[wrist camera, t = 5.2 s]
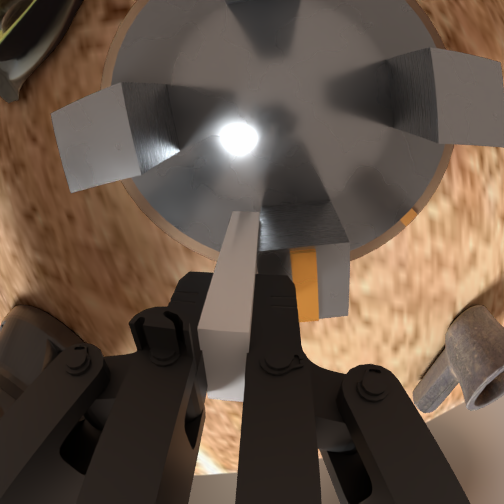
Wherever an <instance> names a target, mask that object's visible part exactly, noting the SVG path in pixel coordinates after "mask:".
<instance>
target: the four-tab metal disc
mask: <svg viewBox="0 0 504 504" xmlns="http://www.w3.org/2000/svg"><path fill="white" fill-rule="evenodd" d="M51 118H52V123H53V128H54V132H55V137H56V141H57V145H58V149H59V153H60V157H61V161H62V165H63V169H64V172H65V176H66V179H67V182H68V186H69V189H70V192H71V193H74V192H77V191H81V190H84V189H88V188H91V187H95V186H99V185H103V184H106V183H110V182H114V181H118V180H122V179H126V178H132V180H133V182H134V183H135V185H136V187H137V188H138V190H139V191H140V192H141V194H142V195H143V196H144V197H145V199H146V200H147V201H148V202H149V204H150V205H151V206H152V207H153V208H154V209H155V210H156V211H157V212H158V213H159V214H160V215H161V216H162V217H163V218H164V219H165V220H166V221H168V222H169V223H170V224H172V225H173V226H174V227H175V228H177V229H178V230H179V231H181V232H182V233H183V234H185V235H187V236H189V237H190V238H192V239H194V240H195V241H197V242H199V243H200V244H202V245H205V246H207V247H209V248H212V249H214V250H216V251H218V252H220V251H221V247H222V244H223V241H224V238H225V235H226V231H227V228H228V225H229V222H230V219H231V216H232V212H233V211H244V212H260V219H259V231H258V243H257V260H256V264H257V270H258V274H267V275H288V277H289V278H290V279H291V280H292V282H293V283H294V284H295V288H296V299H297V309H298V316H299V322H308V321H318V320H319V319H322V318H331V317H340V316H348V307H349V278H350V251H351V250H354V249H356V248H359V247H361V246H363V245H365V244H366V243H368V242H370V241H372V240H374V239H375V238H377V237H379V236H380V235H382V234H383V233H384V232H386V231H387V230H388V229H390V228H391V227H392V226H394V225H395V224H396V223H397V222H398V221H399V220H400V219H401V218H402V217H403V216H405V215H406V214H407V213H408V212H409V211H410V210H411V208H412V207H413V206H414V205H415V203H416V202H417V201H418V200H419V198H420V197H421V196H422V195H423V193H424V191H425V190H426V188H427V186H428V185H429V183H430V181H431V180H432V178H433V176H434V174H435V172H436V169H437V167H438V165H439V162H440V160H441V157H442V154H443V150H444V146H445V144H460V145H478V146H492V147H503V148H504V87H503V77H502V68H501V62H497V61H494V60H490V59H486V58H483V57H479V56H474V55H470V54H465V53H461V52H456V51H451V50H445V49H439V48H436V46H435V44H434V41H433V39H432V37H431V35H430V34H429V32H428V30H427V29H426V27H425V25H424V24H423V22H422V21H421V19H420V18H419V16H418V15H417V14H416V13H415V11H414V10H413V9H412V8H411V7H410V5H409V4H408V3H407V2H406V1H405V0H149V1H148V2H147V4H146V5H145V6H144V7H143V8H142V10H141V11H140V12H139V13H138V15H137V16H136V18H135V20H134V21H133V23H132V24H131V26H130V28H129V29H128V31H127V33H126V35H125V37H124V40H123V42H122V44H121V47H120V49H119V52H118V55H117V58H116V62H115V66H114V70H113V74H112V82H111V86H110V87H107V88H105V89H102V90H100V91H98V92H95V93H93V94H91V95H88V96H86V97H84V98H82V99H79V100H77V101H75V102H73V103H71V104H69V105H67V106H65V107H63V108H61V109H59V110H57V111H55V112H53V113H51Z"/></svg>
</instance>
